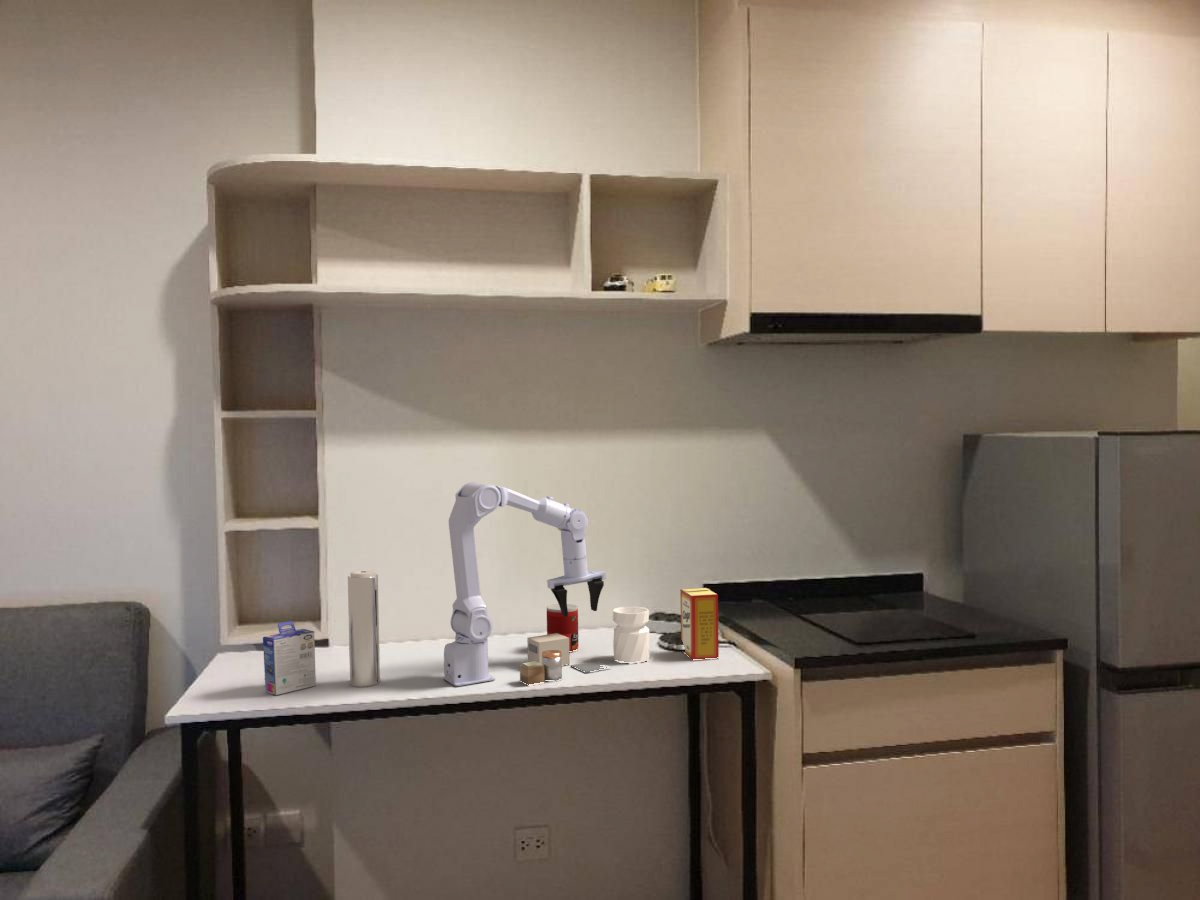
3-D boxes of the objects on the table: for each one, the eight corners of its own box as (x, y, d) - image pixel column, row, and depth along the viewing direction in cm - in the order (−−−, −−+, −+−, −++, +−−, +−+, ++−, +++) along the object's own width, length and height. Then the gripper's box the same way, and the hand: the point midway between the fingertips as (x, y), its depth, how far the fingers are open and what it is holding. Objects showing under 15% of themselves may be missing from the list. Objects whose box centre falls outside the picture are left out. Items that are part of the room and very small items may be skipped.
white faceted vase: (631, 666, 209) (630, 615, 209) (606, 659, 216) (605, 610, 216) (657, 659, 215) (656, 610, 215) (632, 653, 222) (631, 605, 221)
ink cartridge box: (304, 681, 201) (303, 617, 200) (317, 686, 197) (316, 620, 197) (262, 691, 193) (261, 625, 193) (275, 696, 190) (274, 628, 189)
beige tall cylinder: (368, 677, 203) (366, 568, 203) (386, 682, 199) (383, 570, 199) (344, 683, 198) (341, 571, 198) (361, 688, 194) (359, 574, 193)
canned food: (578, 653, 222) (577, 609, 222) (546, 653, 222) (545, 610, 222) (578, 645, 230) (578, 603, 230) (547, 646, 230) (547, 604, 230)
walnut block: (528, 686, 194) (527, 666, 194) (520, 682, 198) (519, 663, 197) (544, 683, 196) (544, 664, 196) (536, 679, 200) (535, 660, 200)
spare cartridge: (548, 683, 196) (547, 655, 196) (538, 678, 200) (538, 651, 200) (565, 679, 199) (565, 653, 199) (556, 675, 202) (555, 649, 202)
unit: (538, 670, 207) (538, 642, 207) (527, 664, 212) (526, 637, 212) (570, 665, 211) (570, 637, 211) (558, 659, 216) (558, 633, 216)
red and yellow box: (718, 659, 215) (717, 592, 214) (692, 660, 213) (691, 594, 213) (706, 649, 224) (705, 586, 224) (681, 651, 223) (680, 587, 222)
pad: (586, 673, 203) (585, 671, 203) (570, 666, 209) (570, 665, 209) (611, 668, 207) (611, 667, 207) (596, 662, 213) (596, 660, 213)
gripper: (595, 550, 221) (600, 604, 222) (540, 559, 216) (545, 614, 216) (607, 554, 215) (612, 610, 216) (551, 564, 209) (556, 620, 210)
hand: (579, 613), depth 216 cm, fingers open, 7 cm apart
